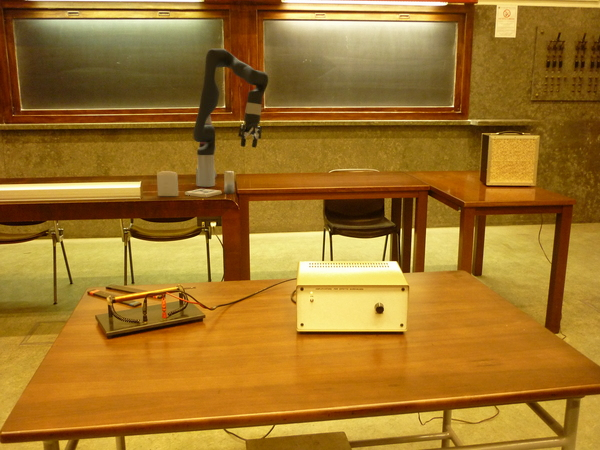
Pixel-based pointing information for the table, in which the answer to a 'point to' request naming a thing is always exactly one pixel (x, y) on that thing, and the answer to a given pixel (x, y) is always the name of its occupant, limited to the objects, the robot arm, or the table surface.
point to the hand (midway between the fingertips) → (248, 146)
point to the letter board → (203, 192)
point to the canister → (229, 182)
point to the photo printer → (167, 183)
